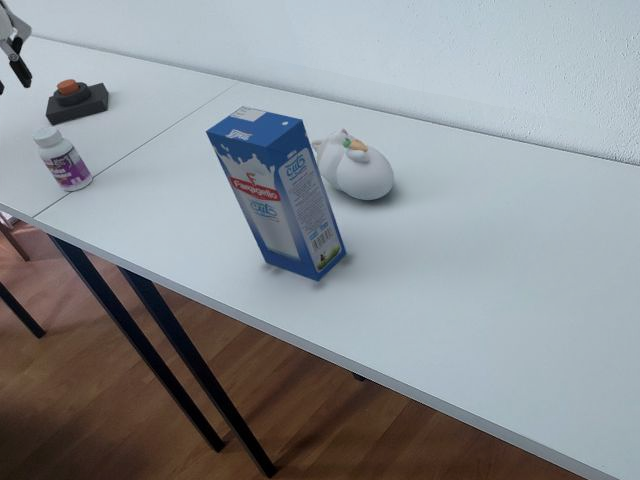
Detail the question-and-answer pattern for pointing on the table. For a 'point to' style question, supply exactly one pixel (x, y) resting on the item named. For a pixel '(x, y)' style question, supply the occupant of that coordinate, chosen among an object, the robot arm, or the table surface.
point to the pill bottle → (62, 159)
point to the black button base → (77, 103)
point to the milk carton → (279, 190)
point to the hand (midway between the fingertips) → (14, 87)
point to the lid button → (68, 86)
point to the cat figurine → (353, 166)
